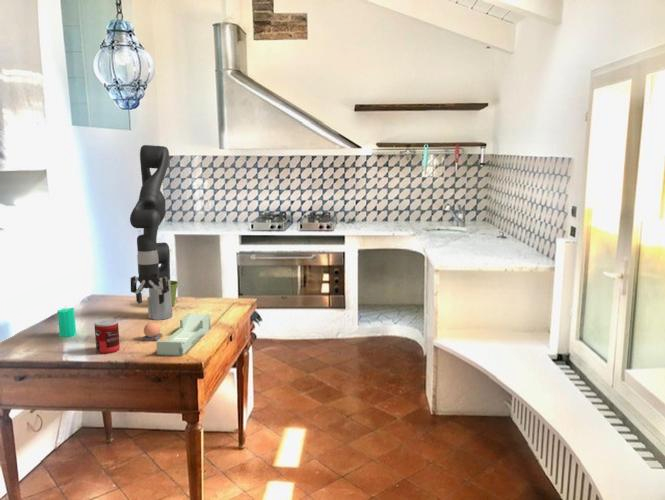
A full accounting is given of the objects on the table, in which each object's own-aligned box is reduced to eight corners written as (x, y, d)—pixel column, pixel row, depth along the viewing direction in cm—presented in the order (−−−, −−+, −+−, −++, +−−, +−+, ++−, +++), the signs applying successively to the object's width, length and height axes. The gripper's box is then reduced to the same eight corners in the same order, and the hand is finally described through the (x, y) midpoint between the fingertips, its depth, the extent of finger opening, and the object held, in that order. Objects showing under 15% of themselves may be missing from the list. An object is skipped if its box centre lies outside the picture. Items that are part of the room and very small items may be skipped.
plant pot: (162, 310, 243) (160, 287, 241) (149, 306, 251) (148, 283, 249) (184, 305, 252) (183, 282, 250) (171, 301, 260) (170, 279, 258)
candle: (79, 333, 211) (77, 304, 209) (67, 338, 206) (65, 308, 204) (68, 332, 213) (65, 303, 211) (56, 336, 208) (53, 307, 206)
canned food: (100, 347, 196) (98, 318, 194) (122, 346, 196) (120, 318, 194) (93, 354, 188) (90, 325, 186) (116, 353, 189) (114, 324, 187)
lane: (157, 355, 187) (156, 338, 186) (189, 327, 218) (188, 313, 217) (182, 356, 186) (181, 339, 185) (211, 328, 217) (210, 313, 216)
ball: (141, 339, 202) (140, 324, 201) (148, 334, 208) (147, 320, 207) (156, 340, 202) (155, 325, 201) (163, 335, 207) (162, 320, 206)
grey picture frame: (142, 340, 202) (142, 337, 202) (148, 336, 208) (148, 333, 208) (156, 341, 202) (156, 338, 202) (162, 336, 207) (162, 333, 207)
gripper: (125, 263, 197) (128, 305, 199) (162, 264, 196) (164, 306, 198) (134, 260, 204) (137, 300, 207) (170, 260, 203) (172, 301, 206)
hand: (150, 303), depth 202 cm, fingers open, 8 cm apart
